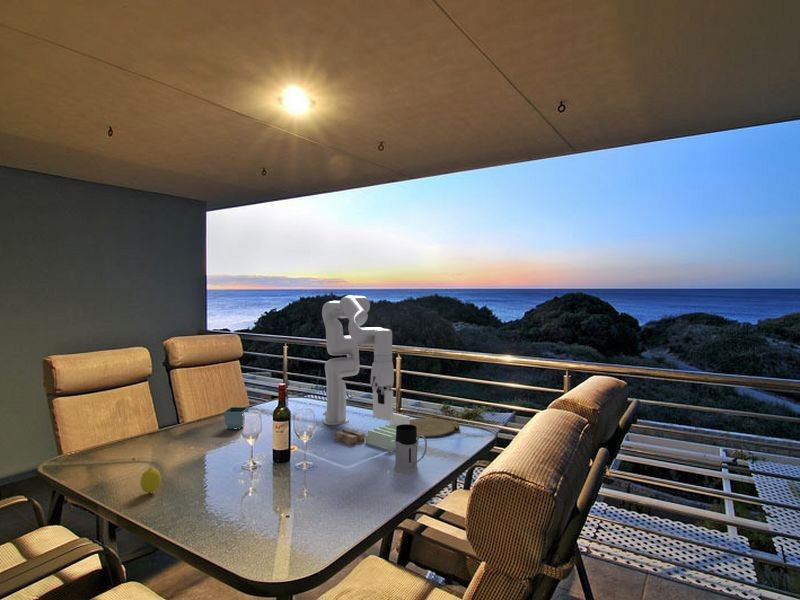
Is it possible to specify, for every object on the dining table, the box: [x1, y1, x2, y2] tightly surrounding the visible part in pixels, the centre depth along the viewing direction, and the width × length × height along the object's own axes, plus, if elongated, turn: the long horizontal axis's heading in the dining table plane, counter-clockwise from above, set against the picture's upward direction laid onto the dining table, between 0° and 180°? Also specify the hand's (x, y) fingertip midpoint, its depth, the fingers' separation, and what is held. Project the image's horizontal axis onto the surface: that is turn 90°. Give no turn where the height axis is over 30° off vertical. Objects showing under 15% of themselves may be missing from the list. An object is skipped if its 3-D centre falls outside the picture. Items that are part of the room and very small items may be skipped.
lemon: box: [140, 467, 162, 493], centre depth 135 cm, size 6×6×8 cm
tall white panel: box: [372, 389, 394, 422], centre depth 179 cm, size 10×2×12 cm, turn 49°
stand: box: [333, 428, 366, 447], centre depth 184 cm, size 12×8×4 cm, turn 49°
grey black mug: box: [393, 424, 428, 475], centre depth 154 cm, size 9×14×15 cm, turn 44°
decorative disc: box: [410, 417, 460, 438], centre depth 205 cm, size 29×3×30 cm
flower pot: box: [223, 406, 250, 430], centre depth 203 cm, size 9×9×9 cm
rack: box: [364, 412, 411, 453], centre depth 184 cm, size 14×17×11 cm
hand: (382, 402), depth 179 cm, fingers closed on tall white panel, 1 cm apart
